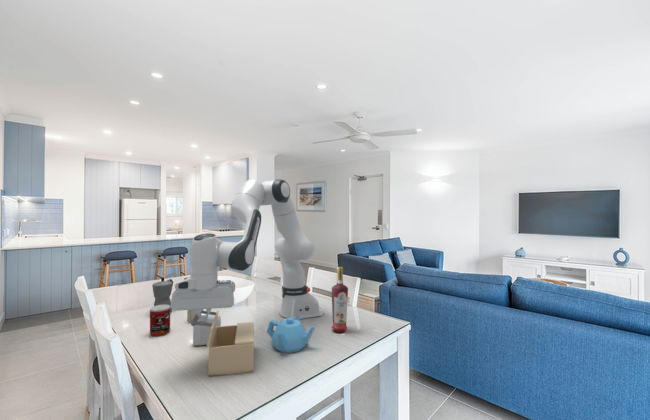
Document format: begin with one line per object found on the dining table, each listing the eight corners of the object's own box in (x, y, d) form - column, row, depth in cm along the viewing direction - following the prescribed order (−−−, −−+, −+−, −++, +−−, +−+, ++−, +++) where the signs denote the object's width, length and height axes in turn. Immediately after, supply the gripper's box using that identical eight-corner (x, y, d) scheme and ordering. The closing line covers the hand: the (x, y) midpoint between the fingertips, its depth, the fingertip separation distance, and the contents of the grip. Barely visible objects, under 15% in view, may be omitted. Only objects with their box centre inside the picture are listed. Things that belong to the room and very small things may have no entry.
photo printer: (221, 340, 122) (221, 309, 122) (219, 344, 118) (220, 313, 118) (194, 342, 120) (194, 311, 120) (191, 347, 116) (192, 315, 116)
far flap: (219, 309, 113) (199, 306, 111) (213, 326, 96) (189, 323, 94) (215, 326, 113) (195, 324, 111) (208, 347, 96) (184, 344, 94)
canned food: (149, 338, 123) (149, 311, 123) (150, 331, 130) (150, 305, 130) (170, 334, 127) (170, 308, 127) (170, 328, 134) (170, 303, 134)
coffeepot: (163, 317, 146) (163, 280, 146) (145, 317, 147) (145, 280, 147) (180, 307, 162) (181, 274, 162) (163, 306, 162) (164, 273, 162)
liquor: (333, 334, 128) (334, 269, 128) (329, 328, 135) (329, 266, 135) (350, 333, 130) (350, 268, 130) (344, 326, 137) (345, 265, 137)
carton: (253, 346, 116) (253, 321, 116) (253, 371, 99) (253, 341, 99) (215, 350, 113) (215, 324, 113) (208, 376, 95) (208, 345, 95)
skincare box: (190, 323, 139) (190, 297, 139) (186, 320, 142) (187, 295, 142) (203, 320, 143) (204, 294, 143) (200, 317, 147) (200, 292, 147)
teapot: (300, 334, 128) (300, 309, 128) (316, 349, 115) (316, 321, 115) (265, 342, 121) (265, 315, 121) (278, 358, 108) (278, 328, 108)
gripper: (235, 277, 109) (235, 316, 109) (174, 280, 104) (173, 320, 104) (234, 281, 103) (234, 322, 103) (169, 284, 98) (168, 327, 98)
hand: (203, 321), depth 103 cm, fingers closed
